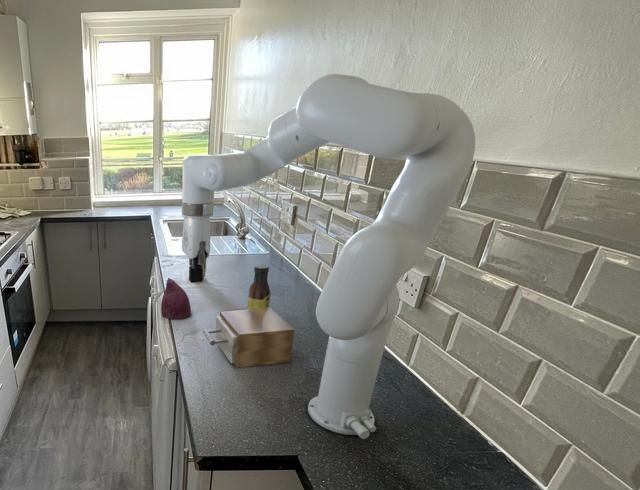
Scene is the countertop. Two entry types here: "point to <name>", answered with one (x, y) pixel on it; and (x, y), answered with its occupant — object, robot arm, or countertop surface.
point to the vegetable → (175, 302)
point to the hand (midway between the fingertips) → (195, 281)
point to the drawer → (224, 339)
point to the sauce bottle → (259, 289)
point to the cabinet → (260, 336)
